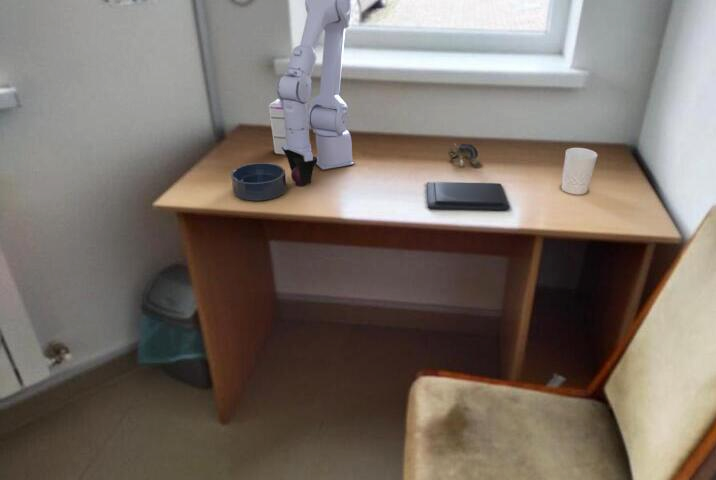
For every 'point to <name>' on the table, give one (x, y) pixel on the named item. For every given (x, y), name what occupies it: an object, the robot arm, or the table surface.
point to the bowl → (258, 181)
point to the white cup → (578, 170)
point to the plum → (296, 177)
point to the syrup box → (277, 126)
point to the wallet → (466, 196)
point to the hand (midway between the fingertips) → (301, 178)
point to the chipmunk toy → (465, 154)
